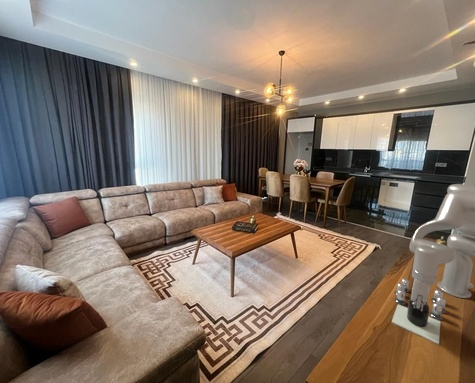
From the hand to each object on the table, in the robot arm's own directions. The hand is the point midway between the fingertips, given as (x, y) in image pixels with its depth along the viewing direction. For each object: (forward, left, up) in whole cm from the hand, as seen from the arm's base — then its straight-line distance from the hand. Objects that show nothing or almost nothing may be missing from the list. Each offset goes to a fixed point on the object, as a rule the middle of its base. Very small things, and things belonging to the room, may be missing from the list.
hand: (418, 310), depth 89 cm
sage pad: (0, 0, -6) cm, 6 cm away
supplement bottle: (0, 0, -6) cm, 6 cm away
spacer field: (-14, -10, -6) cm, 18 cm away
